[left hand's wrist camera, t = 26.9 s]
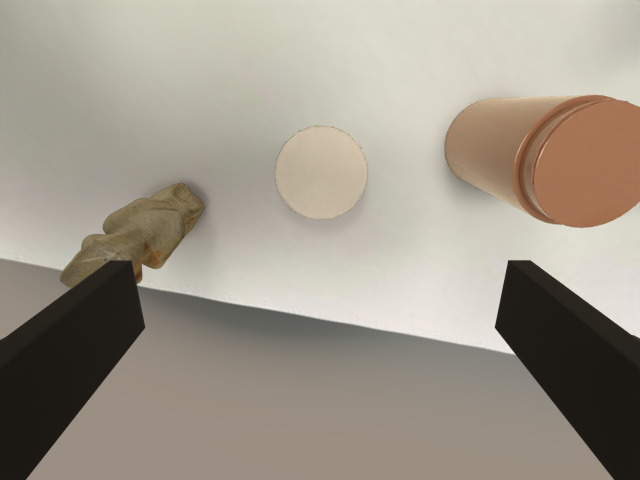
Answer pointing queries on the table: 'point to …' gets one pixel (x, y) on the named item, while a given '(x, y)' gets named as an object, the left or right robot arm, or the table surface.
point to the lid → (321, 172)
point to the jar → (551, 155)
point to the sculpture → (138, 234)
